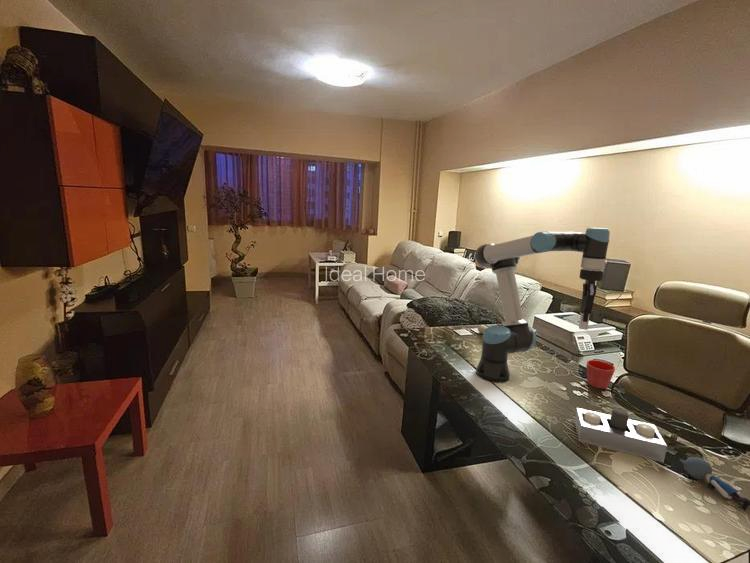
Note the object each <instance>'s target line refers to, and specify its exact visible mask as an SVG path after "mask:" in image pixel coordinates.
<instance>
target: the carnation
mask: <svg viewBox="0 0 750 563" xmlns="http://www.w3.org/2000/svg"><path fill="white" fill-rule="evenodd" d="M486 328H487V327H486V326H484V325H479V326H478V327H477V331H478V333H480V332H481V333H482V334H484V331H485V329H486ZM481 333H480V334H481Z"/></svg>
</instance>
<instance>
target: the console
mask: <svg viewBox="0 0 750 563" xmlns="http://www.w3.org/2000/svg"><path fill="white" fill-rule="evenodd" d="M586 412H593V413H596V414H598V415H599V416H600V417H601V420H600V425H596V424H592V423H588V422H584V417H585V413H586ZM610 419H611V414H607V413H602V412H598V411H593V410H588V409H584V408H580V407H576V410H575V417H574V425H575V430H576V433H577V435H576V436H577V439H578V442H580V443H584V444H587V445H591V446H597V447H600V448H603V449H608V450H611V451H614V452H615V451H616V452H620V453H624V454H627V455H630V456H631V455H632V456H636V457H641V458H643V459H646V460H651V461H655V462H659V463H662V464H664V463H665V457H666V453H667V449H668V445H667V443H666V442H665V440H664V438H663V436H662V434H661V433H660V432H659V430H658V428H657V426H656V425H655V424H652V423H648V422H645V421H640V420H635V419H630V418H628V422H627V428H626V431H622V430H618V429H614V428H610V427H609V425H610ZM638 423H643V424H647V425H649V426H651V427H653V428H654V429H655V433H654V438H652V437H648V436H644V435H639V434H637V433H636V429H637V424H638Z"/></svg>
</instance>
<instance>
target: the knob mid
mask: <svg viewBox="0 0 750 563" xmlns="http://www.w3.org/2000/svg"><path fill="white" fill-rule="evenodd" d="M610 415H611V419H610V425H609V427H610V428H614V429H618V430H622V431H626V428H627V422H628V419H629V416H630V415H629V413H628V412H626V411H624V410H623V409H618V408H612V410H611V414H610Z"/></svg>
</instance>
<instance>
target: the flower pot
mask: <svg viewBox="0 0 750 563" xmlns="http://www.w3.org/2000/svg"><path fill="white" fill-rule="evenodd" d="M615 371H616V368H615V366H614V365H612V364H611V363H608V362H605V361H602V360H599V359H597V360H596V359H592V360H591V359H590V360H587V361H586V375H587V376H586V377H587V379H586V380H587V383H588V384H589V385H590V386H592V387H594V388H598V389H608V387H609V385H610V382H611V380H612V378H613V376H614V374H615Z"/></svg>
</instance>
